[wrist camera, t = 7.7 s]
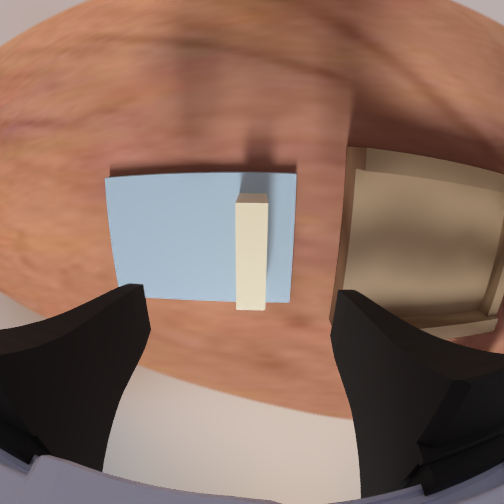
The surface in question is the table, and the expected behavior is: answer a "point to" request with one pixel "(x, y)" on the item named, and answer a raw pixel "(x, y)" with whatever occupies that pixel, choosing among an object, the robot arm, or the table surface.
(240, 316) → the table surface
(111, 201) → the lid
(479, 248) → the box
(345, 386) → the robot arm
